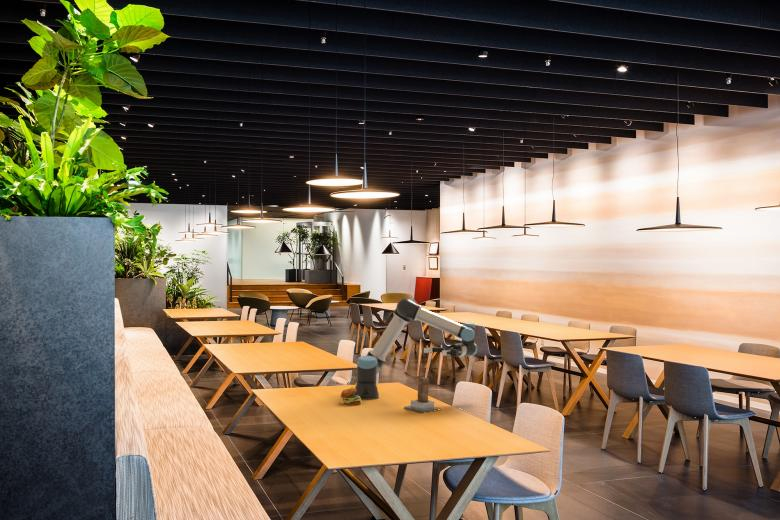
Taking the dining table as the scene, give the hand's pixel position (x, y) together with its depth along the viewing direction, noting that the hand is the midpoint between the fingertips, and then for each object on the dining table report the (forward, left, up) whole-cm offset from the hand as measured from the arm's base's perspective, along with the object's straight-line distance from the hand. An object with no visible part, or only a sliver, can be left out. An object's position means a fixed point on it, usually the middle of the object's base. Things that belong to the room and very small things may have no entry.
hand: (433, 351), depth 375 cm
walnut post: (+5, -13, -29) cm, 32 cm away
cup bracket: (+5, -13, -30) cm, 33 cm away
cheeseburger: (-27, -36, -30) cm, 54 cm away
